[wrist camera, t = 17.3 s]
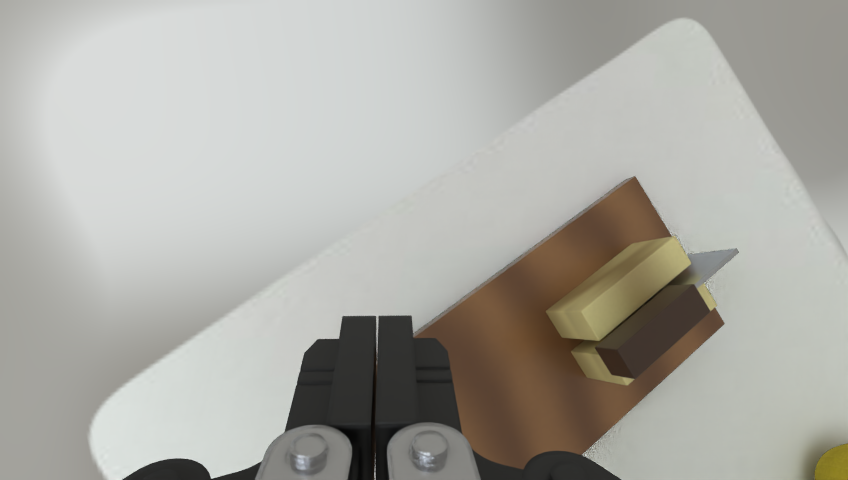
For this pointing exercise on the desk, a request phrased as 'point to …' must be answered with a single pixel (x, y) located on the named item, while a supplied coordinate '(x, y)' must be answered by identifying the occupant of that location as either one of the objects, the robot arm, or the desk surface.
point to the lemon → (833, 464)
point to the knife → (662, 318)
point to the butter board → (531, 354)
